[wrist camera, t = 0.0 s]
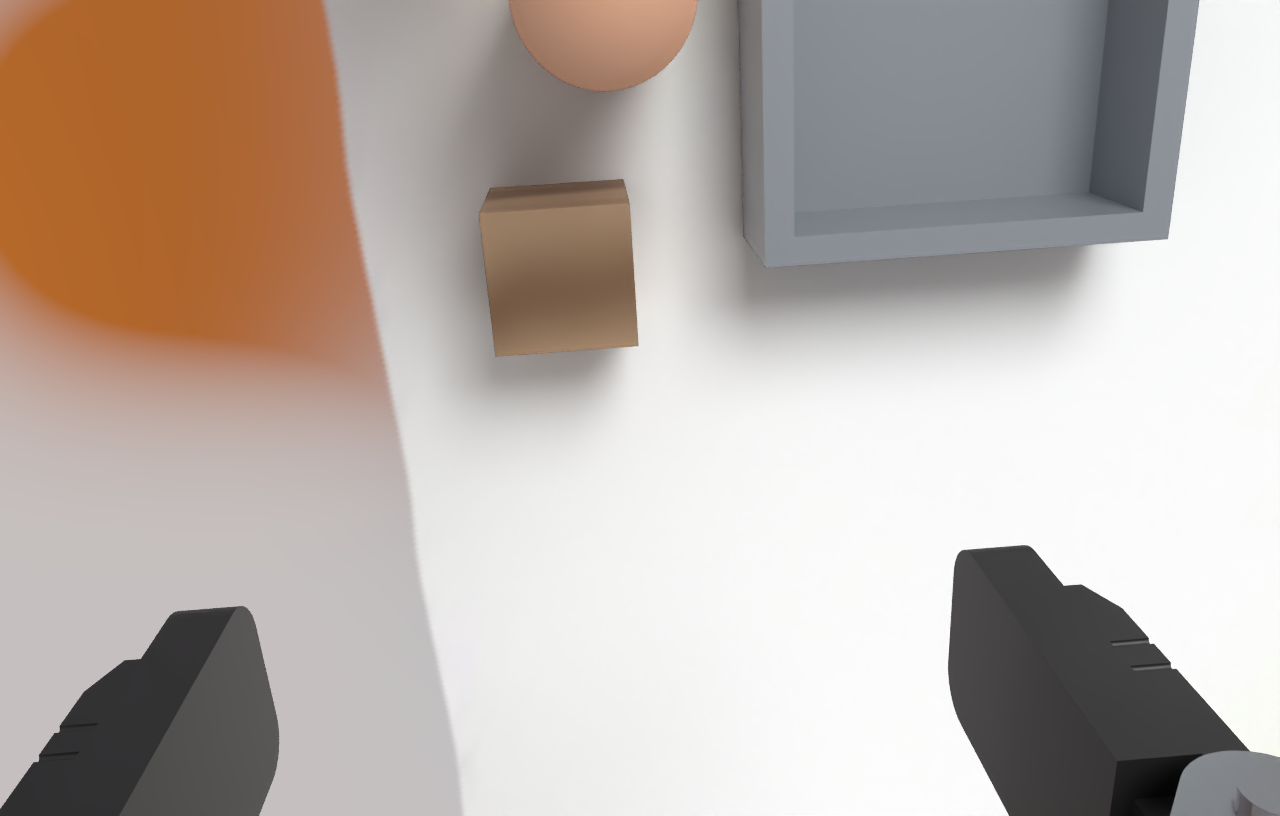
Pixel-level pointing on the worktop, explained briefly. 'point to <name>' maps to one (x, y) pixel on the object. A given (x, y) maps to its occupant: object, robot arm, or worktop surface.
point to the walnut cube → (559, 267)
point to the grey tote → (958, 124)
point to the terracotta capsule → (603, 38)
